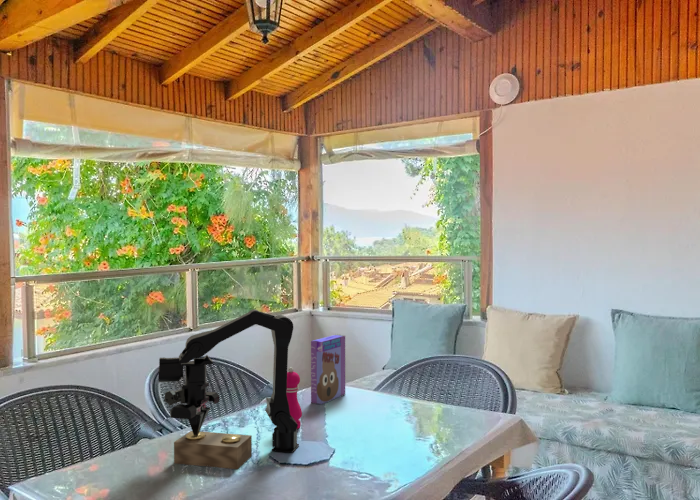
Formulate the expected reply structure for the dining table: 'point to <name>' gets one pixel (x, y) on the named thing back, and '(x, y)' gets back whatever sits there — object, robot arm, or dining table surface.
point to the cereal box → (327, 369)
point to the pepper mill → (293, 395)
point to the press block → (213, 451)
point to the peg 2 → (231, 438)
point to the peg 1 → (195, 436)
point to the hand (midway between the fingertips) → (195, 434)
